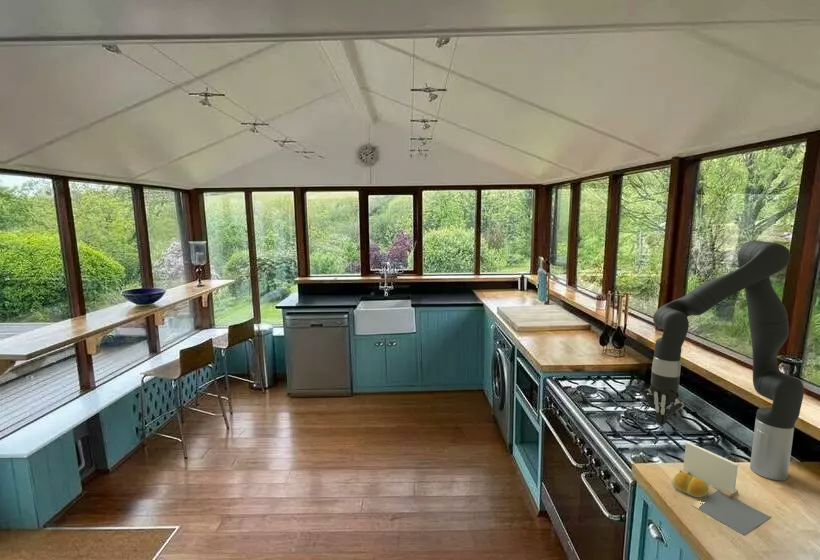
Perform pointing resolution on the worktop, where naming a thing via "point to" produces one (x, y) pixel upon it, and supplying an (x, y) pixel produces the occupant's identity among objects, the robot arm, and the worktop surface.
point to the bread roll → (690, 484)
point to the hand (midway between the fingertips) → (660, 423)
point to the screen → (711, 469)
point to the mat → (732, 512)
